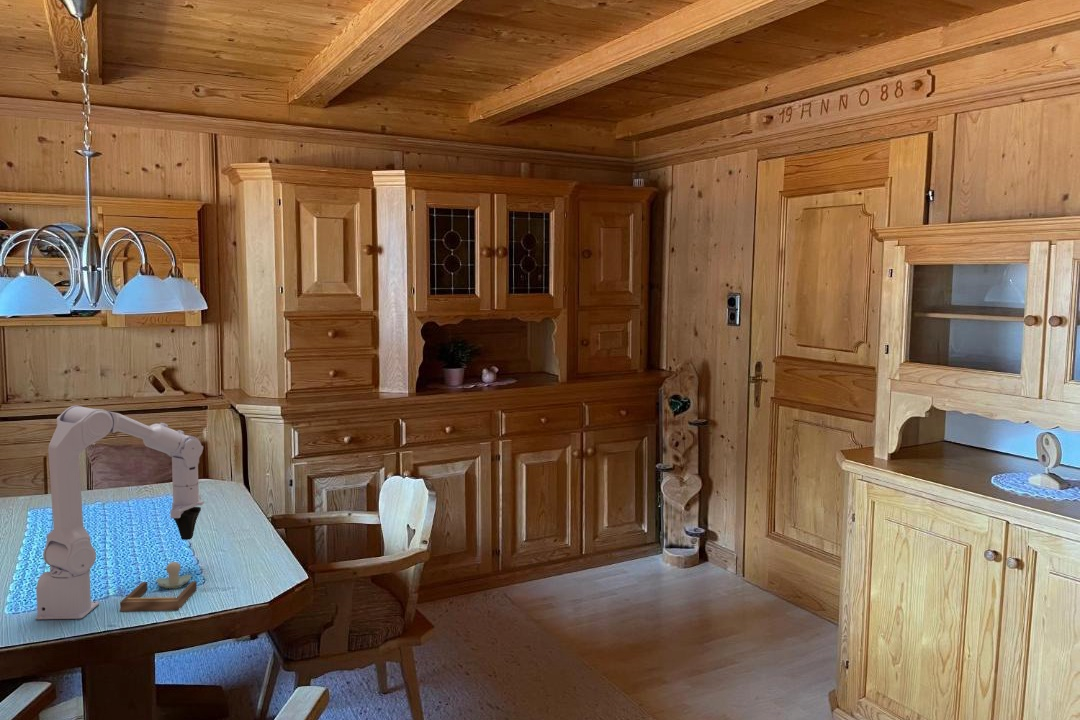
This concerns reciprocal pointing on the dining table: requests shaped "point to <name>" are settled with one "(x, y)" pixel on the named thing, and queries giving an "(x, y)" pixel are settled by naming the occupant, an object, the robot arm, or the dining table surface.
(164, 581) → the pacifier
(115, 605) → the dining table surface
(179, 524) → the robot arm
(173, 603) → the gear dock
